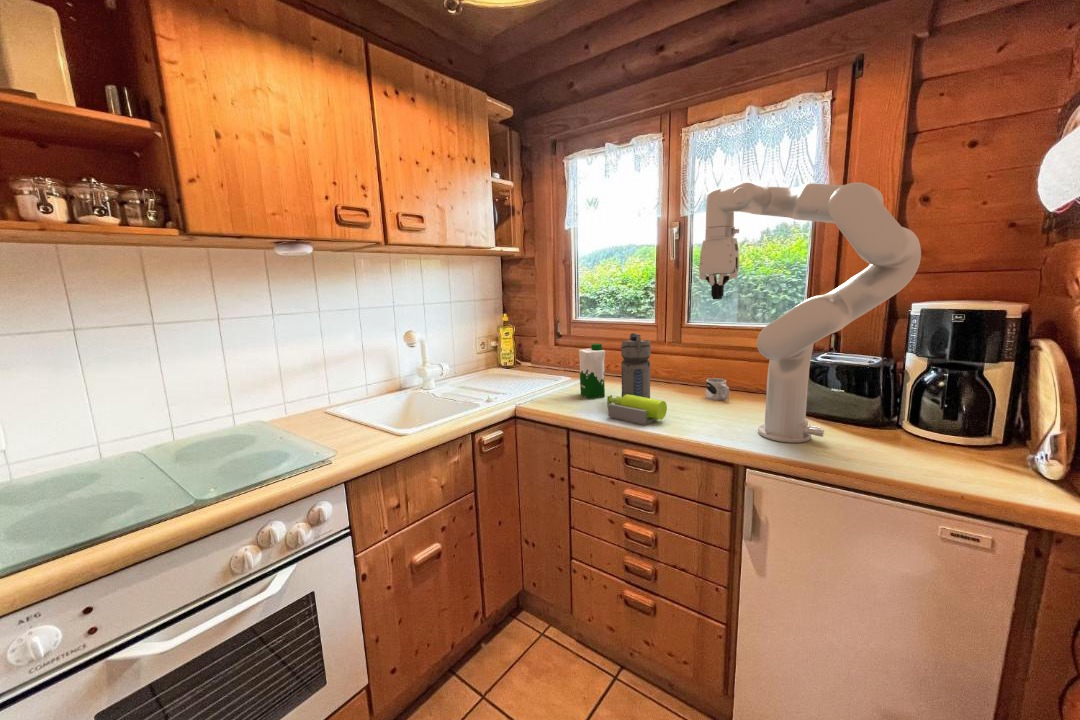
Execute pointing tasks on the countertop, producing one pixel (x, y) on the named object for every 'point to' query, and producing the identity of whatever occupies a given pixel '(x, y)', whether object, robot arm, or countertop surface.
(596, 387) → the soya milk
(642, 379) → the beverage bottle
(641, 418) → the cradle
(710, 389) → the mug
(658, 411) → the soap dispenser
